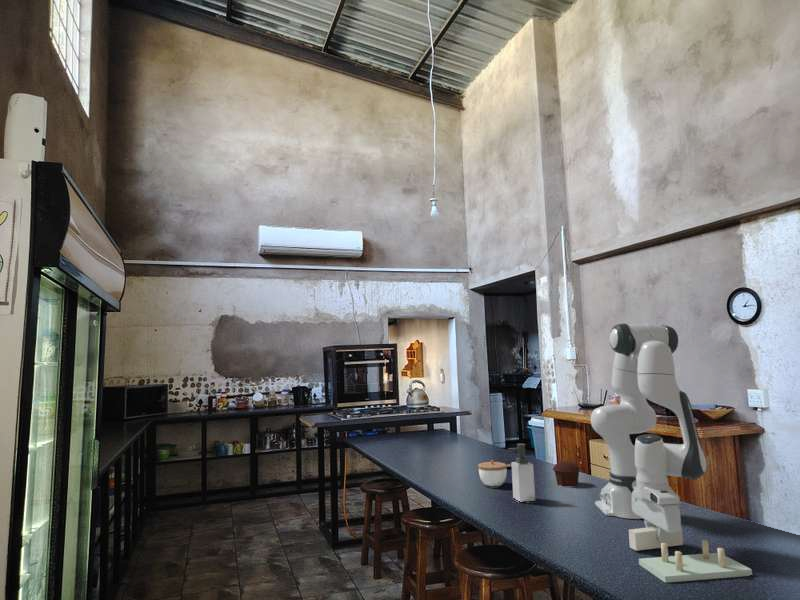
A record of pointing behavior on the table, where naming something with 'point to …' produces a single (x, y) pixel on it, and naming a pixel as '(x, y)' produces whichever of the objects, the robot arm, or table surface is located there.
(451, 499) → the table surface
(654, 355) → the robot arm
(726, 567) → the rack
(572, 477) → the muffin
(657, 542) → the off-white rectangular block
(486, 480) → the lidded bowl
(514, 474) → the soap dispenser
